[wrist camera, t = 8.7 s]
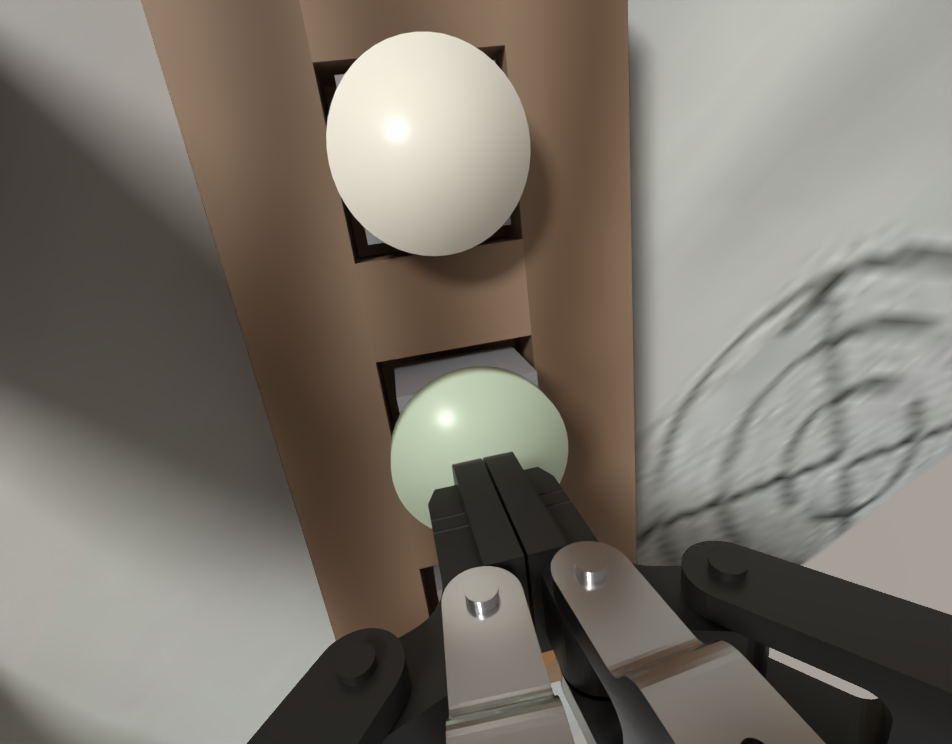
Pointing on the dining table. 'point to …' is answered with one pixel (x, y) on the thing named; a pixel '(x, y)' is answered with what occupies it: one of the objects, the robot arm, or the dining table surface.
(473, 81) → the button cream
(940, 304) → the dining table surface
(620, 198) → the console
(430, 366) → the button sage
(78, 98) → the dining table surface
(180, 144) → the dining table surface
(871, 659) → the robot arm
